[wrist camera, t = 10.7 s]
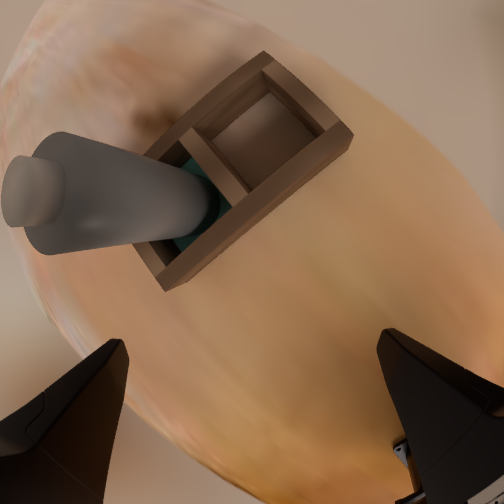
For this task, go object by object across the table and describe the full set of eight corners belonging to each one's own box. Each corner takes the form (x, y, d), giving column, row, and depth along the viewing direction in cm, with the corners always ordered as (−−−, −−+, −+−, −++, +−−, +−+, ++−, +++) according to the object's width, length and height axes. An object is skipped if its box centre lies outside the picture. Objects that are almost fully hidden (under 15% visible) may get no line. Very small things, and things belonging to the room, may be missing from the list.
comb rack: (347, 149, 18) (354, 134, 15) (186, 282, 22) (165, 291, 18) (272, 73, 19) (263, 50, 15) (131, 201, 22) (104, 199, 19)
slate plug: (228, 223, 20) (58, 231, 6) (175, 243, 21) (1, 275, 7) (209, 165, 20) (46, 96, 6) (158, 189, 21) (-11, 166, 7)
